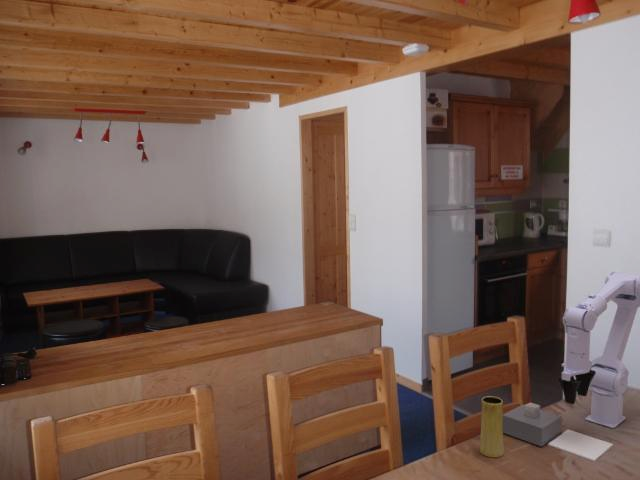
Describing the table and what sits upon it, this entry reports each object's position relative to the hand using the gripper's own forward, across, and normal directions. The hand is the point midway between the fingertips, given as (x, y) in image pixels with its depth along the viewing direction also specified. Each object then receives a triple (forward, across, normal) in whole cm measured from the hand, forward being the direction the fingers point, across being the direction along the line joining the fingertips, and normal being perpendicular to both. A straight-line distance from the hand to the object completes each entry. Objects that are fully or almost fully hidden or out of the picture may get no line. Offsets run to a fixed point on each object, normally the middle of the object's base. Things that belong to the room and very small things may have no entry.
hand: (576, 399), depth 151 cm
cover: (+10, +8, -9) cm, 16 cm away
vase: (+11, +25, -11) cm, 29 cm away
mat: (+10, +5, +4) cm, 12 cm away
